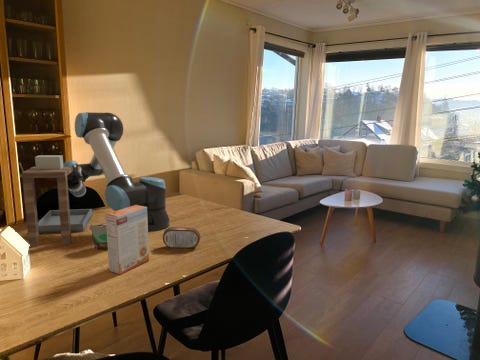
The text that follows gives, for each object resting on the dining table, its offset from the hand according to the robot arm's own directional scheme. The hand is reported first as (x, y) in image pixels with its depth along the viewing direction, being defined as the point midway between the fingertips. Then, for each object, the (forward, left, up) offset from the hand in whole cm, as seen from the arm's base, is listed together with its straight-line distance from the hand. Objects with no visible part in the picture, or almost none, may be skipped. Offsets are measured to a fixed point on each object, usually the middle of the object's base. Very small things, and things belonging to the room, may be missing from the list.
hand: (63, 168), depth 166 cm
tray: (-1, +1, -26) cm, 26 cm away
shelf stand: (-18, +13, -26) cm, 35 cm away
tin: (-62, -19, -26) cm, 70 cm away
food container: (-42, +2, -26) cm, 49 cm away
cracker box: (-62, +5, -26) cm, 67 cm away
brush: (-13, +9, +4) cm, 16 cm away
